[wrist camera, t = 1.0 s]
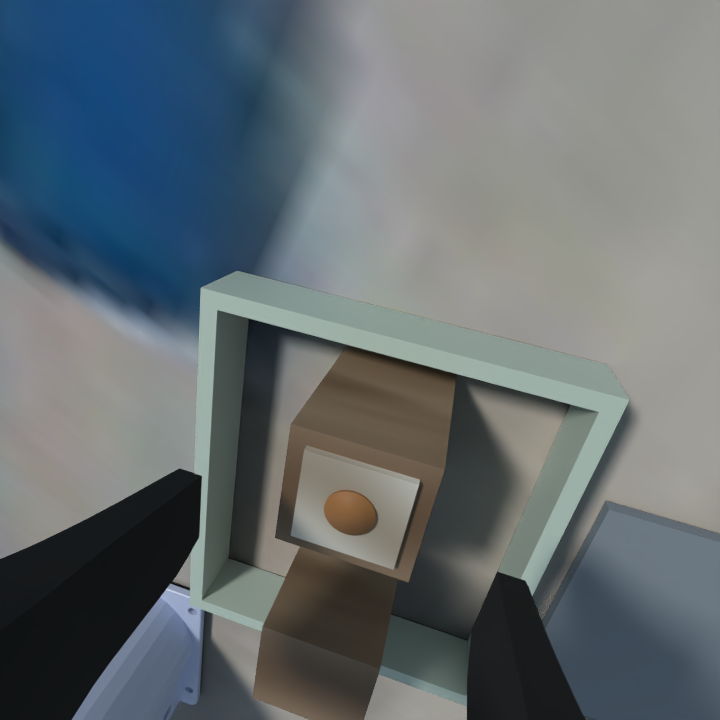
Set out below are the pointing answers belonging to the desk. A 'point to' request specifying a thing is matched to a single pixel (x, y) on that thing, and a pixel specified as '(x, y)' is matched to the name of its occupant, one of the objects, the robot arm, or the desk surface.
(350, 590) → the plain block
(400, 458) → the labelled block
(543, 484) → the bin
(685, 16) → the desk surface
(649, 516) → the mat
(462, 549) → the desk surface
